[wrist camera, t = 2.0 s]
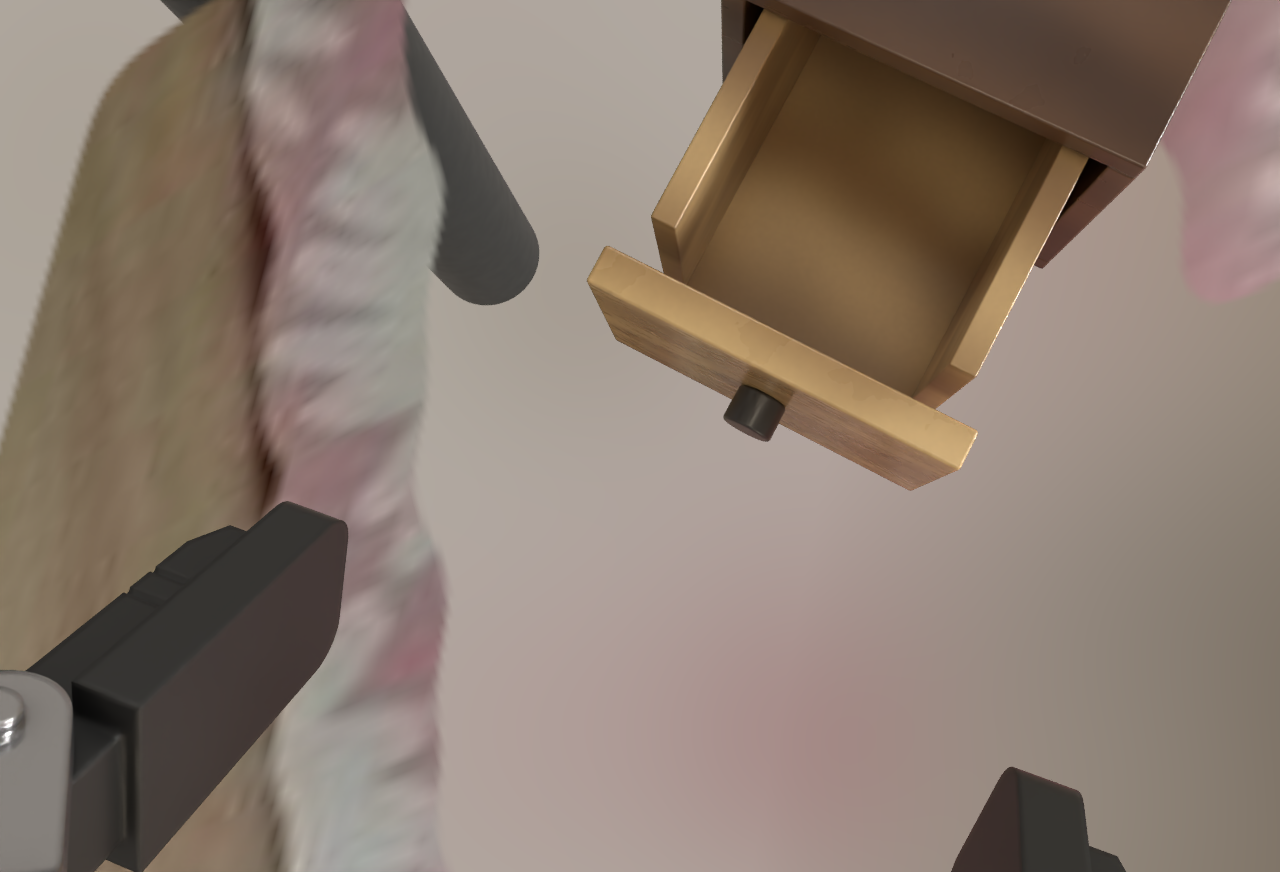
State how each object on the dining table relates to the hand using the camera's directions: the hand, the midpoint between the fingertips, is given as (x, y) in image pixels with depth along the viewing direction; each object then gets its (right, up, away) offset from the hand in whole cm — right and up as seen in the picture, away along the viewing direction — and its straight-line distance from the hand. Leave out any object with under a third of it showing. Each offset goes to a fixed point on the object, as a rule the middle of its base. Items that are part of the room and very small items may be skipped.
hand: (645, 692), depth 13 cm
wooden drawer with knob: (+7, +9, +25) cm, 27 cm away
